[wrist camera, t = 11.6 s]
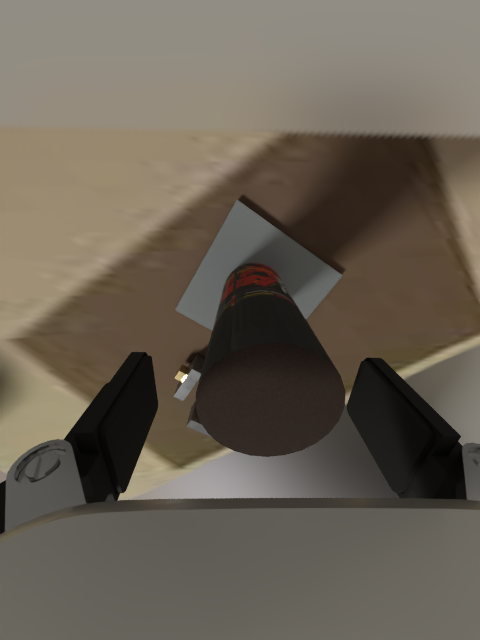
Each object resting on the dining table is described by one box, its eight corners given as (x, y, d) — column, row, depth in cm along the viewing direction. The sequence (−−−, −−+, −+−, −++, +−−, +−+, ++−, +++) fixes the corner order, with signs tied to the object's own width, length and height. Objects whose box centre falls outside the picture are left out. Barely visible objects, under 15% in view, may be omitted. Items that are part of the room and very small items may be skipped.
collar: (162, 393, 29) (153, 411, 26) (204, 328, 25) (199, 341, 22) (246, 432, 32) (246, 452, 29) (296, 379, 28) (301, 396, 25)
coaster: (176, 307, 24) (175, 310, 24) (237, 200, 20) (237, 199, 19) (269, 359, 27) (269, 362, 26) (340, 274, 23) (342, 275, 22)
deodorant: (294, 281, 22) (378, 384, 9) (263, 329, 24) (289, 471, 11) (241, 250, 21) (240, 313, 7) (213, 303, 23) (172, 427, 10)
